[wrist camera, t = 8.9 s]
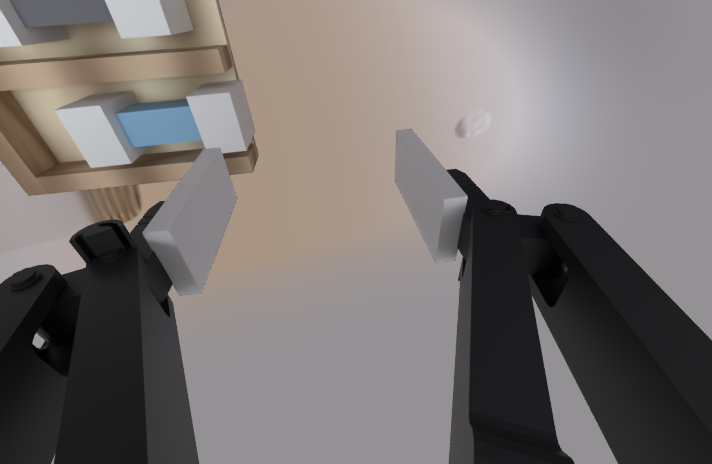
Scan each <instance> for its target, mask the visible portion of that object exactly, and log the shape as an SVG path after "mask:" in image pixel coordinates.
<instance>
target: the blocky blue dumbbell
mask: <svg viewBox="0 0 712 464" xmlns="http://www.w3.org/2000/svg"><path fill="white" fill-rule="evenodd" d="M54 111H55V113H56V114H57V116H58V117H59V119H60V120H61V122H62V124H63V125H64V127H65V128H66V130H67V131H68V133H69V135H70V136H71V138H72V139H73V141H74V142H75V144H76V145H77V147H78V149H79V150H80V152H81V153H82V155H83V156H84V158H85V160H86V161H87V163H88V164H89V166H90V167H91V168H96V167H105V166H114V165H123V164H132V163H133V162H134V161H135V160H136V159H137V158H138V157H139V156H140V155H142V154H143V153H144V152H145V151H146V150H147V149H148V148H149V147H151V146H152V145H162V144H171V143H180V142H189V141H198V140H202V141H203V143H204V146H205V149H209V148H221V151H222V153H230V152H239V151H247V149H248V146H249V144H250V142H251V139H252V137H253V135H254V132H255V129H254V125H253V122H252V118H251V114H250V111H249V107H248V103H247V99H246V96H245V92H244V88H243V84H242V81H241V80H231V81H221V82H210V83H204V84H202V85H201V86H200V87H198V88H197V89H196V90H194V91H193V92H192V93H190V94H189V95H188V96H186V99H183V100H173V101H163V102H153V103H143V104H138V103H137V101H136V99H135V97H134V95H133V93H132V91H131V90H129V91H119V92H108V93H98V94H92V95H89V96H87V97H84V98H82V99H79V100H77V101H75V102H72V103H70V104H67V105H65V106H62V107H60V108H58V109H55V110H54Z"/></svg>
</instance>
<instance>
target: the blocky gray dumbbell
mask: <svg viewBox="0 0 712 464" xmlns="http://www.w3.org/2000/svg"><path fill="white" fill-rule="evenodd" d="M102 22H114V23H115V25H116V27H117V30H118V32H119V34H120V36H121V38H135V37H149V36H163V35H173V34H178V33H182V32H187V31H192V30H194V29H193V26H192V23H191V20H190V17H189V13H188V10H187V7H186V4H185V1H184V0H0V47H11V46H24V45H31V44H38V43H45V42H52V41H59V40H66V39H70V37H69V35H68V33H67V31H66V29H65V28H64V26H63V25H73V24H87V23H102Z"/></svg>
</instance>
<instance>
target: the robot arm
mask: <svg viewBox="0 0 712 464" xmlns="http://www.w3.org/2000/svg"><path fill="white" fill-rule="evenodd" d="M395 182H396V184H397V186H398V188H399V190H400V192H401V194H402V196H403V198H404V200H405V202H406V204H407V207H408V208H409V210H410V213H411V214H412V217H413V219H414V221H415V223H416V225H417V227H418V229H419V231H420V233H421V235H422V237H423V239H424V241H425V243H426V245H427V247H428V249H429V251H430V253H431V255H432V257H433V259H434V261H435V263H442V262H449V261H455V260H456V255H457V250H458V249H459V251H460V252H461V254H462V256H463V259H462V264H461V269H460V273H459V278H458V281H460V292H459V308H458V324H457V342H456V356H455V373H454V390H453V405H452V421H451V437H450V453H449V464H574V462H573V460H572V458H570V457H569V456H568V455H567V454H566V453H564V452H563V451H562V450H561V448H560V446H559V444H558V440H557V436H556V431H555V425H554V420H553V413H552V408H551V402H550V397H549V391H548V386H547V380H546V374H545V368H544V364H543V357H542V352H541V346H540V341H539V335H538V329H537V324H536V318H535V312H534V307H533V301H532V296H533V298H534V300H535V302H536V304H537V306H538V308H539V310H540V312H541V314H542V316H543V318H544V320H545V322H546V323H547V325H548V328H549V329H550V331H551V333H552V335H553V337H554V339H555V341H556V343H557V345H558V347H559V349H560V351H561V353H562V355H563V357H564V359H565V361H566V363H567V365H568V366H569V369H570V371H571V372H572V374H573V376H574V378H575V380H576V382H577V384H578V386H579V388H580V390H581V392H582V394H583V396H584V398H585V400H586V402H587V404H588V406H589V407H590V410H591V412H592V413H593V415H594V417H595V419H596V421H597V423H598V425H599V427H600V429H601V431H602V433H603V435H604V437H605V439H606V441H607V443H608V445H609V447H610V448H611V451H612V453H613V454H614V456H615V458H616V460H617V462H618V464H712V340H711V339H710V338H709V337H708V336H707V335H706V334H705V333H704V332H703V331H702V330H701V329H700V328H699V327H698V326H697V325H696V324H695V323H694V322H693V321H692V320H691V319H690V318H689V317H688V316H687V315H686V314H685V313H684V312H683V310H682V309H681V308H680V307H679V306H678V305H677V304H676V303H675V302H674V301H673V300H672V299H671V298H670V297H669V296H668V295H667V294H666V293H665V292H664V291H663V290H662V289H661V288H660V287H659V286H658V285H657V284H656V283H655V282H654V281H653V280H652V279H651V278H650V277H649V276H648V274H647V273H646V272H645V271H644V270H643V269H642V268H641V267H640V266H639V265H638V264H637V263H636V262H635V261H634V260H633V259H632V258H631V257H630V256H629V255H628V254H627V253H626V252H625V251H624V250H623V249H622V248H621V247H620V246H619V245H618V244H617V243H616V242H615V241H614V240H613V238H611V236H610V235H608V233H607V232H606V231H605V230H604V229H603V228H602V227H601V226H600V225H599V224H598V223H597V222H596V221H595V220H594V219H593V218H592V217H591V216H590V215H589V214H587V212H585V211H584V210H582V209H580V208H577V207H576V206H573V205H569V204H559V203H556V204H549V205H547V206H545V207H544V209H543V211H542V213H541V216H530V215H519V214H517V212H516V210H515V208H514V207H512V206H511V205H510V204H507V203H505V202H503V201H498V200H490V199H489V198H488V197H487V196H486V195H485V194H484V193H483V192H482V191H481V189H480V188H479V187H478V186H476V184H475V183H474V182H473V181H472V180H471V179H470V178H469V177H468V176H467V175H466V174H465V173H463V172H461V171H459V170H457V169H451V170H445V168H444V167H443V166H442V165H441V164H440V162H439V161H438V160H437V159H436V158H435V156H434V155H433V154H432V153H431V152H430V150H429V149H428V148H427V147H426V146H425V144H424V143H423V142H422V141H421V140H420V138H419V137H418V136H417V135H416V134H415V132H414V131H413V130H412V129H407V130H396V161H395ZM236 199H237V196H236V194H235V190H234V187H233V184H232V181H231V178H230V175H229V172H228V169H227V166H226V163H225V160H224V157H223V154H222V151H221V148H209V149H203V151H202V152H201V153H200V155H199V156H198V157H197V159H196V160H195V161H194V163H193V164H192V166H191V167H190V168H189V170H188V171H187V172H186V174H185V175H184V176H183V178H182V179H181V181H180V182H179V183H178V185H177V186H176V188H175V189H174V190H173V191H172V193H171V194H170V196H169V197H168V198H167V200H166V201H160V202H159V203H157V204H156V205H154V206H153V207H151V208H150V209H149V210H148V211H147V212H146V213H145V215H144V216H143V218H142V219H141V220H140V221H139V222H138V225H136V226H135V228H134V229H133V230H132V231H131V233H130V234H129V232H128V230H127V229H126V227H125V226H124V224H123V222H122V221H119V220H106V221H102V222H98V223H95V224H92V225H89V226H87V227H85V228H83V229H82V230H80V231H78V232H77V233H76V234H74V235H73V236H72V237H71V239H70V241H69V242H70V243H71V244H72V246H73V247H74V248H75V250H76V251H77V252H78V253H79V255H80V256H81V257H82V258H83V260H84V261H85V262H86V268H83V269H80V270H77V271H73V272H70V273H66V274H63V275H61V274H60V273H59V272H58V271H57V270H56V268H55V267H54V266H52V265H47V264H46V265H37V266H34V267H31V268H26V269H23V270H22V271H19V272H17V273H14V274H13V275H12V276H11V277H9V278H8V279H6V280H5V281H4V282H2V283H1V284H0V464H51V462H52V460H53V457H54V455H55V460H54V464H199V460H198V454H197V448H196V442H195V436H194V429H193V424H192V417H191V412H190V406H189V399H188V393H187V387H186V381H185V375H184V368H183V363H182V356H181V350H180V344H179V338H178V331H177V325H176V319H175V313H174V307H173V302H172V301H171V299H170V297H169V296H168V292H169V290H170V288H171V286H172V285H173V286H174V288H175V290H176V291H177V293H178V294H179V296H183V295H191V294H198V293H202V291H203V289H204V286H205V283H206V280H207V278H208V275H209V272H210V269H211V267H212V264H213V262H214V259H215V256H216V254H217V251H218V248H219V246H220V243H221V240H222V237H223V235H224V232H225V229H226V227H227V224H228V221H229V219H230V216H231V213H232V211H233V208H234V205H235V203H236ZM531 294H532V295H531ZM36 333H37V334H38V335H39V336H41V337H42V338H43V339H44V340H45V342H44V343H43V345H42V347H41V348H40V349H39V348H36V347H35V346H34V345H33V344H32V341H33V339H34V335H35V334H36Z"/></svg>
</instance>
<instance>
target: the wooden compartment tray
mask: <svg viewBox="0 0 712 464" xmlns="http://www.w3.org/2000/svg"><path fill="white" fill-rule="evenodd" d="M184 1H185V4H186V7H187V10H188V13H189V17H190V20H191V23H192V26H193V29H194V30H192V31H187V32H182V33H178V34H173V35H163V36H149V37H135V38H121V36H120V34H119V32H118V30H117V27H116V25H115V23H114V22H102V23H87V24H73V25H63V26H64V28H65V29H66V31H67V33H68V35H69V37H70V39H66V40H59V41H52V42H45V43H38V44H31V45H24V46H11V47H0V161H1V162H2V163H3V164H4V166H5V167H6V168H7V169H8V171H9V172H10V173H11V174H12V176H13V177H14V178H15V179H16V180H17V182H18V183H19V184H20V185H21V187H22V188H23V189H24V190H25V192H26V193H27V194H28V195H29V196H30V195H40V194H50V193H59V192H69V191H79V190H88V189H98V188H108V187H117V186H127V185H137V184H146V183H156V182H165V181H175V180H181V179H182V178H183V176H184V175H185V174H186V172H187V171H188V170H189V168H190V167H191V166H192V164H193V163H194V161H195V160H196V159H197V157H198V156H199V155H200V153H201V152H202V151H203V149H205V146H204V143H203V141H202V140H198V141H189V142H180V143H171V144H162V145H152V146H151V147H149V148H148V149H147V150H146V151H145V152H144V153H143V154H142V155H140V156H139V157H138V158H137V159H136V160H135V161H134V162H133V163H132V164H123V165H114V166H105V167H96V168H91V167H90V166H89V164H88V163H87V161H86V160H85V158H84V156H83V155H82V153H81V152H80V150H79V149H78V147H77V145H76V144H75V142H74V141H73V139H72V138H71V136H70V135H69V133H68V131H67V130H66V128H65V127H64V125H63V124H62V122H61V120H60V119H59V117H58V116H57V114H56V113H55V111H54V110H55V109H58V108H60V107H62V106H65V105H67V104H70V103H72V102H75V101H77V100H79V99H82V98H84V97H87V96H89V95H92V94H98V93H108V92H119V91H129V90H131V91H132V93H133V95H134V97H135V99H136V101H137V103H138V104H143V103H153V102H163V101H173V100H183V99H186V96H188V95H189V94H190V93H192V92H193V91H194V90H196V89H197V88H198V87H200V86H201V85H202V84H204V83H210V82H221V81H231V80H239V78H238V75H237V70H236V67H235V63H234V59H233V55H232V51H231V48H230V44H229V40H228V36H227V32H226V29H225V24H224V20H223V17H222V13H221V9H220V5H219V1H218V0H184ZM222 154H223V157H224V160H225V163H226V166H227V169H228V172H229V175H233V174H242V173H252V172H253V171H254V167H255V165H256V161H257V158H258V152H257V148H256V144H255V140H254V136H253V137H252V139H251V142H250V144H249V146H248V149H247V151H239V152H230V153H222Z"/></svg>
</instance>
